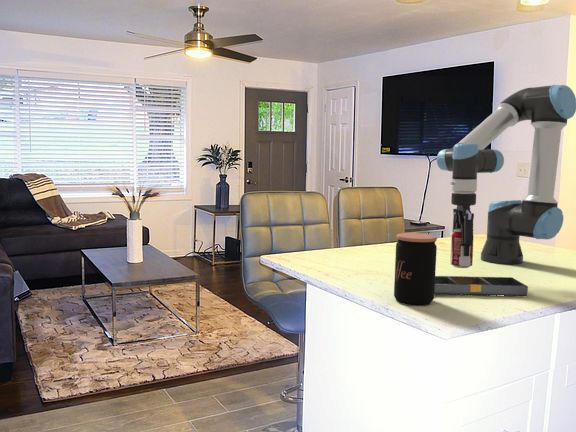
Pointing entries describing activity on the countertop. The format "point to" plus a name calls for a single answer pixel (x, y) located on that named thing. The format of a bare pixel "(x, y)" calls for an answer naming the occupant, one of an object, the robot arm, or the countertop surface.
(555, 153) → the robot arm
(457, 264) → the soda can
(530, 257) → the countertop surface
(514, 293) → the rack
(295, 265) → the countertop surface
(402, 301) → the coffee jar
